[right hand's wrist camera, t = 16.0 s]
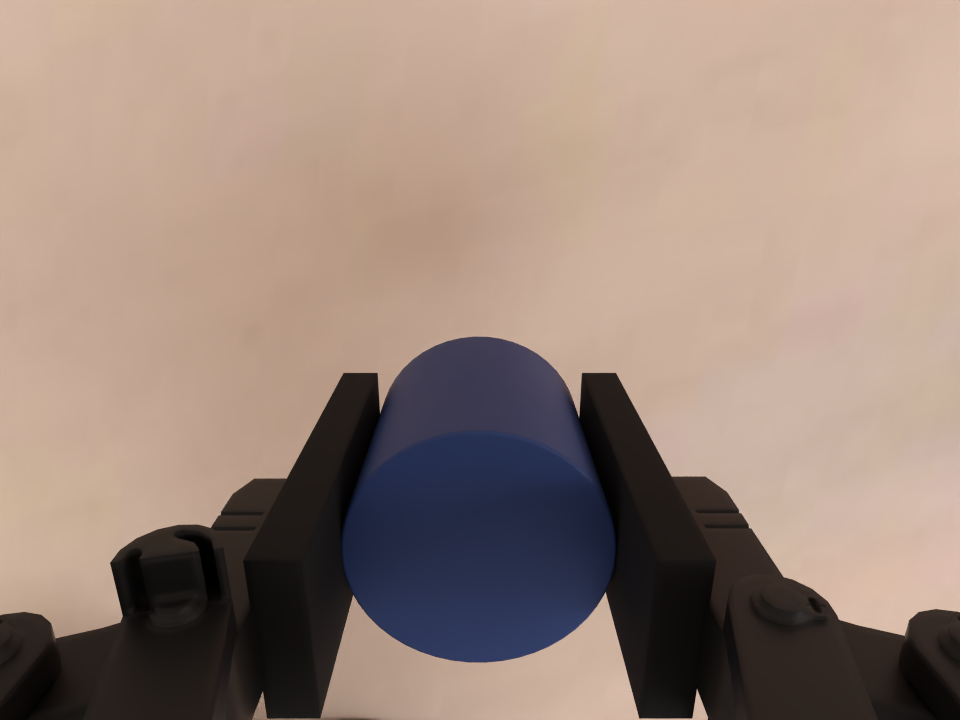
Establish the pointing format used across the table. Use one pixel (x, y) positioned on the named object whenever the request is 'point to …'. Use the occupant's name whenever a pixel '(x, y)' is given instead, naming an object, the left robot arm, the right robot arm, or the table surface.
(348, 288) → the table surface
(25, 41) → the table surface
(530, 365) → the cylinder
